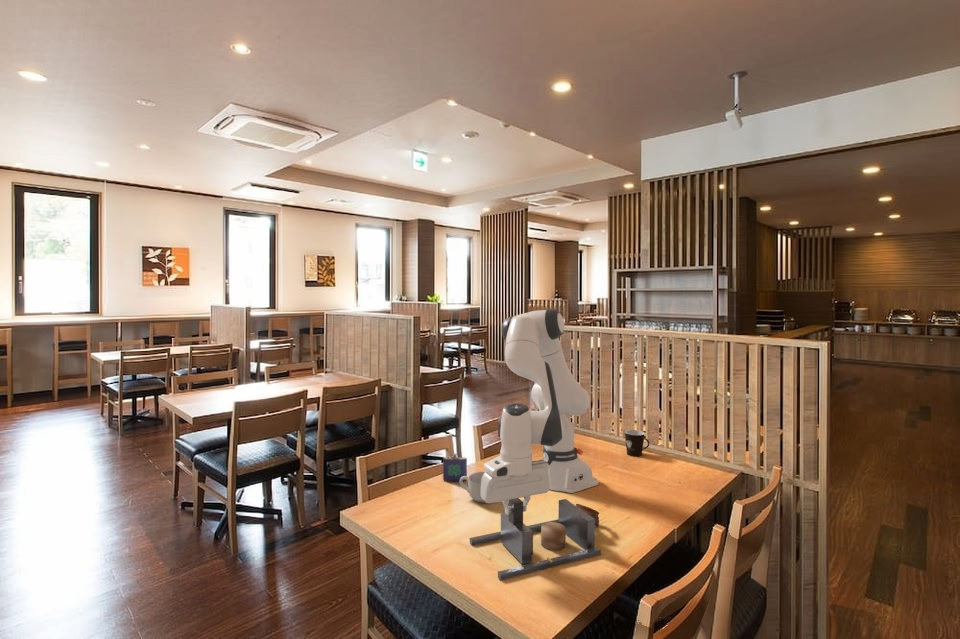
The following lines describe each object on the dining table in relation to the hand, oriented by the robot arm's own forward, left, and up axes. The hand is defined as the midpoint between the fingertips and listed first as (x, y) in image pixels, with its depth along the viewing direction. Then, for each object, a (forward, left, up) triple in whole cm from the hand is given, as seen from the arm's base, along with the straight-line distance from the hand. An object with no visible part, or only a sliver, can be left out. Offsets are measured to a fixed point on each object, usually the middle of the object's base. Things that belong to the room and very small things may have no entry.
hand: (515, 512), depth 138 cm
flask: (-3, -57, -12) cm, 58 cm away
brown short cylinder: (-12, 0, -12) cm, 17 cm away
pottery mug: (-26, -4, -12) cm, 29 cm away
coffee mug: (-88, -53, -12) cm, 104 cm away
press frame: (-6, 0, -12) cm, 13 cm away
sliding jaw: (0, 0, -12) cm, 12 cm away
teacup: (-5, -38, -12) cm, 40 cm away
